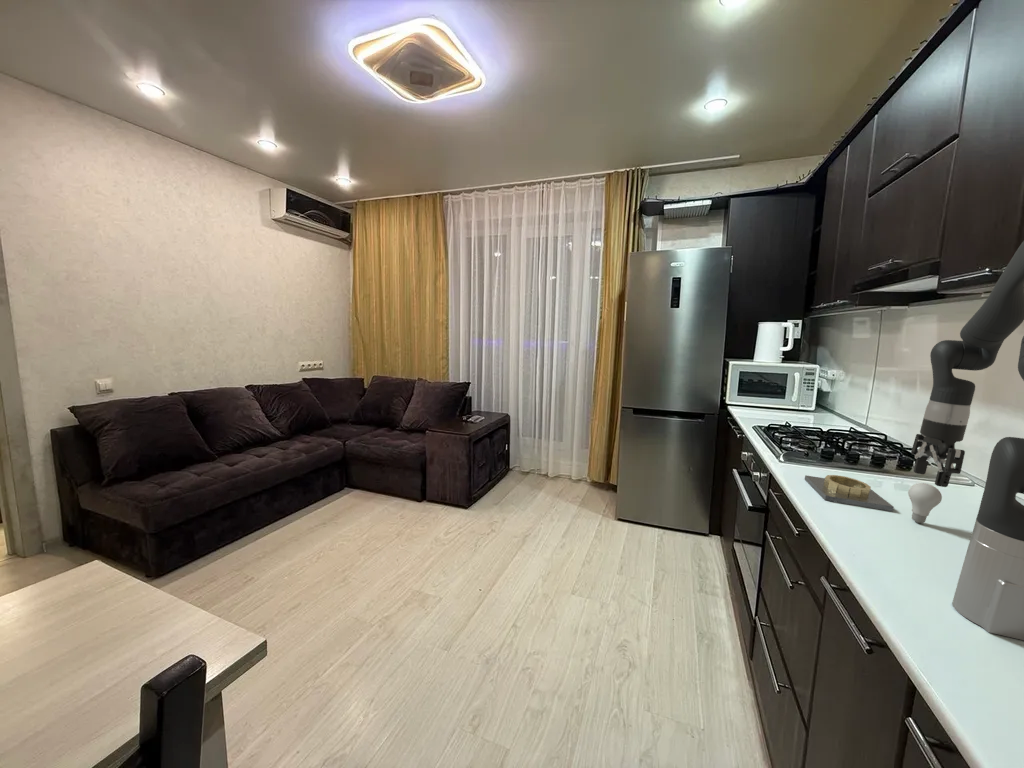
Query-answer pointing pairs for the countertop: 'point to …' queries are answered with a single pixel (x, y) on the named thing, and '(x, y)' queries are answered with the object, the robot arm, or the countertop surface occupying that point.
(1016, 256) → the robot arm
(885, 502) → the lamp socket
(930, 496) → the lightbulb
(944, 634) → the countertop surface
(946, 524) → the countertop surface
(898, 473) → the countertop surface
